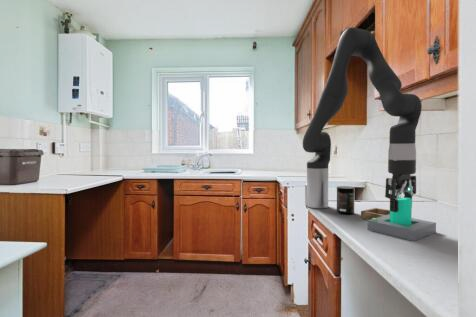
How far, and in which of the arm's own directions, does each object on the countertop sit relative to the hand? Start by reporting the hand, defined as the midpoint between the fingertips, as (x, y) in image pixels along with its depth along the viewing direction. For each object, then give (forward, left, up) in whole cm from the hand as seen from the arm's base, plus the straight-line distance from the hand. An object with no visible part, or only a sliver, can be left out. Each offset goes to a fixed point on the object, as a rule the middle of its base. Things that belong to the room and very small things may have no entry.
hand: (400, 209), depth 91 cm
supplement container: (-25, +7, -7) cm, 27 cm away
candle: (0, 0, -7) cm, 7 cm away
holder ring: (-12, +10, -7) cm, 17 cm away
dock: (0, 0, -7) cm, 7 cm away
